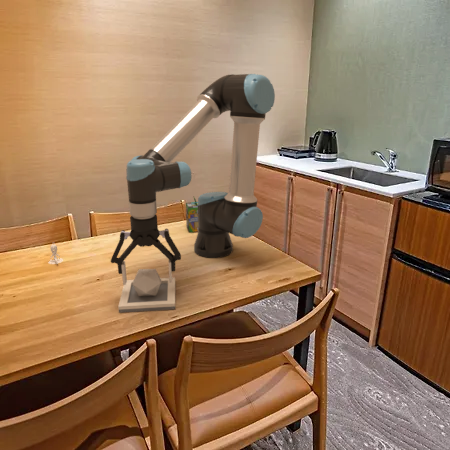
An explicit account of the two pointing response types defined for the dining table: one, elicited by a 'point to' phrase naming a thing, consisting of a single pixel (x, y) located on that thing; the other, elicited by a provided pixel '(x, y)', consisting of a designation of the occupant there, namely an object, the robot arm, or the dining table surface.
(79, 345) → the dining table surface
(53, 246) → the toy figurine
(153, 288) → the die
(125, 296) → the pocket plate
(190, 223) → the chalk box
